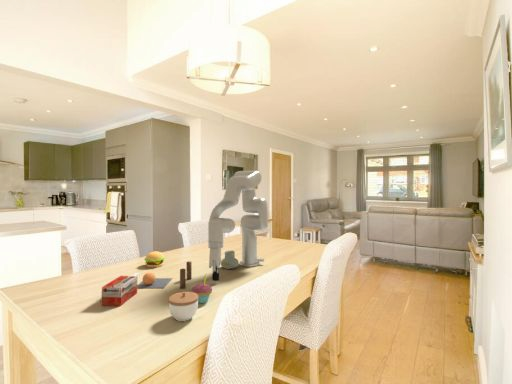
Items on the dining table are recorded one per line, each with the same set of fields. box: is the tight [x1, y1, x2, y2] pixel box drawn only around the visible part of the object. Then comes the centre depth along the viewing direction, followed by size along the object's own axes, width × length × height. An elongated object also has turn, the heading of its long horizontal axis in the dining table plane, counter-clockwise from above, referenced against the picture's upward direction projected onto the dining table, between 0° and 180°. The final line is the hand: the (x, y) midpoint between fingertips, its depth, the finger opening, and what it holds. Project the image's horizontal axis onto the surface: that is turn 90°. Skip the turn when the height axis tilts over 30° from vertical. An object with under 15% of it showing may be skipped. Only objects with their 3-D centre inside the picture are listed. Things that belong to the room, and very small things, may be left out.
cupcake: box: [191, 274, 213, 304], centre depth 116 cm, size 9×8×12 cm
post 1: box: [179, 268, 187, 290], centre depth 131 cm, size 3×3×9 cm
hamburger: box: [144, 250, 166, 269], centre depth 169 cm, size 12×12×9 cm
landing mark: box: [137, 277, 173, 289], centre depth 137 cm, size 14×14×1 cm
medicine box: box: [101, 275, 139, 307], centre depth 118 cm, size 15×8×8 cm, turn 178°
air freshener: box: [220, 250, 240, 270], centre depth 165 cm, size 11×8×10 cm
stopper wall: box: [131, 272, 141, 280], centre depth 137 cm, size 2×18×2 cm, turn 1°
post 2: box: [185, 260, 193, 281], centre depth 144 cm, size 3×3×9 cm
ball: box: [142, 272, 156, 285], centre depth 135 cm, size 6×6×6 cm
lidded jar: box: [168, 291, 199, 322], centre depth 101 cm, size 11×11×9 cm
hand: (215, 280), depth 138 cm, fingers closed
